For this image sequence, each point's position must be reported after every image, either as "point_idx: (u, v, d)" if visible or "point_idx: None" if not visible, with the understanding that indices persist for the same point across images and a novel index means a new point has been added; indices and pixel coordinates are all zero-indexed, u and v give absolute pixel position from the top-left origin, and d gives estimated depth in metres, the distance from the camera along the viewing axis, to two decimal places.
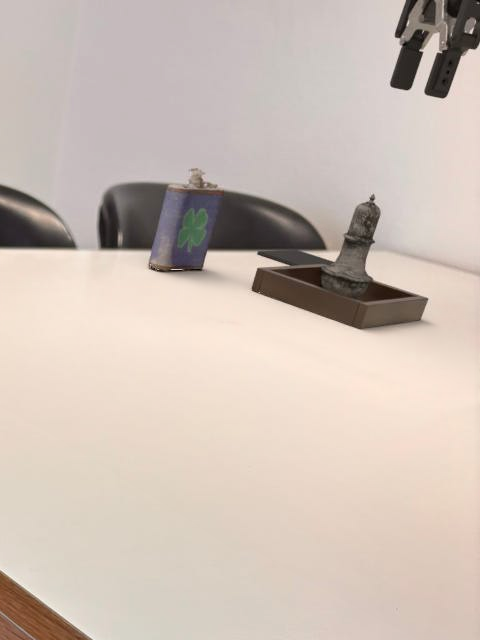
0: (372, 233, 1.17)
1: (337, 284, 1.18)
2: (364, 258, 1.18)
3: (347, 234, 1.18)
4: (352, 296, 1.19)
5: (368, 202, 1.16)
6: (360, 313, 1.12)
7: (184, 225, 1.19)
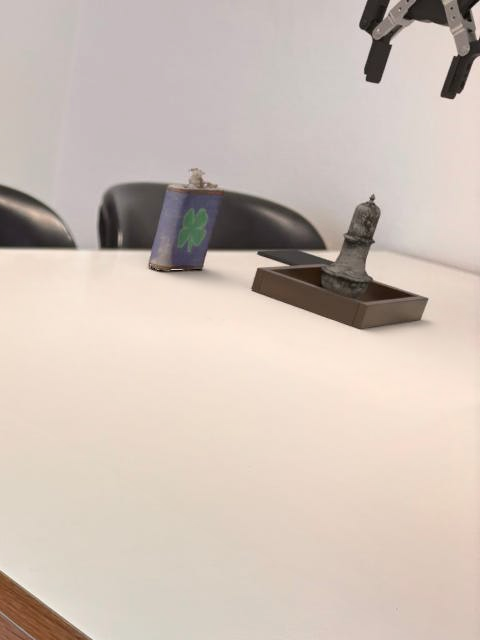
0: (372, 233, 1.17)
1: (337, 284, 1.18)
2: (364, 258, 1.18)
3: (347, 234, 1.18)
4: (352, 296, 1.19)
5: (368, 202, 1.16)
6: (360, 313, 1.12)
7: (184, 225, 1.19)
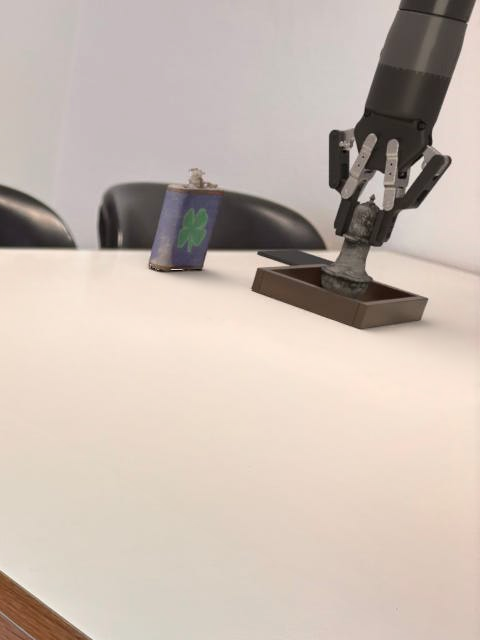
0: None
1: (337, 284, 1.18)
2: (364, 258, 1.18)
3: (347, 234, 1.18)
4: (352, 296, 1.19)
5: (368, 202, 1.16)
6: (360, 313, 1.12)
7: (184, 225, 1.19)
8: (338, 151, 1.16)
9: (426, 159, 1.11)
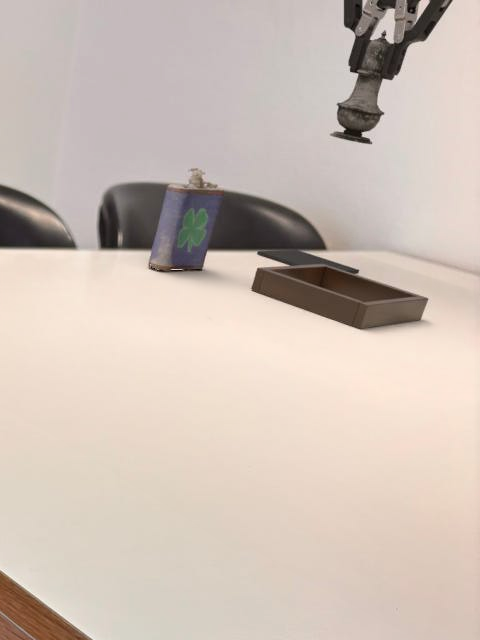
0: None
1: (352, 116, 1.30)
2: (376, 92, 1.29)
3: (361, 69, 1.29)
4: (365, 128, 1.31)
5: (380, 38, 1.27)
6: (360, 313, 1.12)
7: (184, 225, 1.19)
8: None
9: None
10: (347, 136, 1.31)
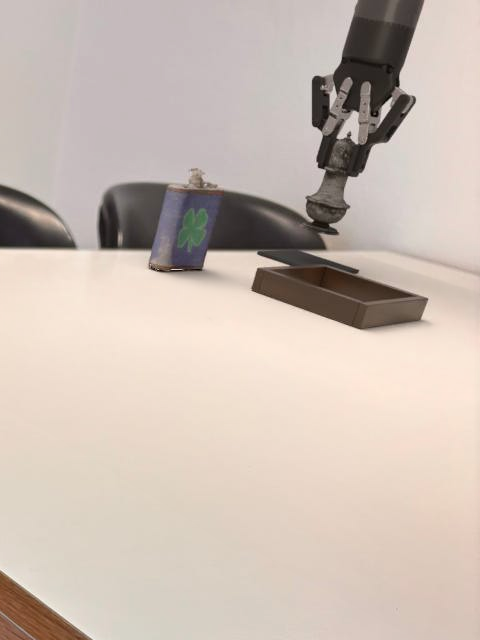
0: None
1: (319, 210, 1.37)
2: (342, 187, 1.37)
3: (327, 166, 1.36)
4: (332, 221, 1.38)
5: (345, 138, 1.34)
6: (360, 313, 1.12)
7: (184, 225, 1.19)
8: (319, 94, 1.34)
9: (394, 99, 1.29)
10: (315, 228, 1.38)
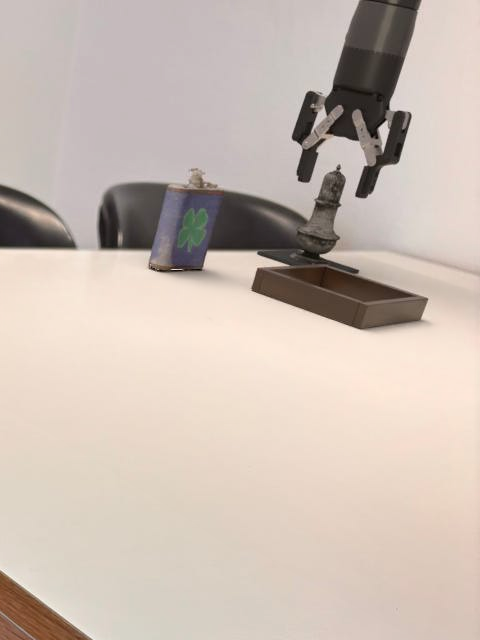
0: (338, 197, 1.37)
1: (309, 242, 1.39)
2: (332, 219, 1.39)
3: (317, 199, 1.38)
4: (322, 252, 1.40)
5: (335, 171, 1.36)
6: (360, 313, 1.12)
7: (184, 225, 1.19)
8: (308, 111, 1.36)
9: (389, 120, 1.30)
10: (305, 259, 1.40)
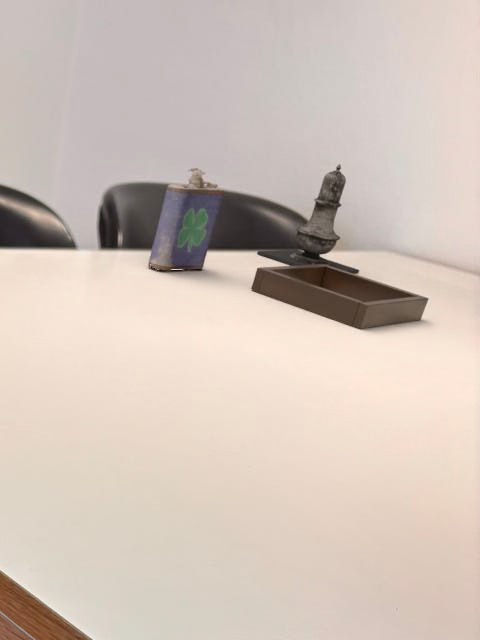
0: (338, 198, 1.37)
1: (309, 242, 1.39)
2: (332, 219, 1.39)
3: (317, 199, 1.38)
4: (322, 252, 1.40)
5: (335, 171, 1.36)
6: (360, 313, 1.12)
7: (184, 225, 1.19)
8: None
9: None
10: (305, 259, 1.40)
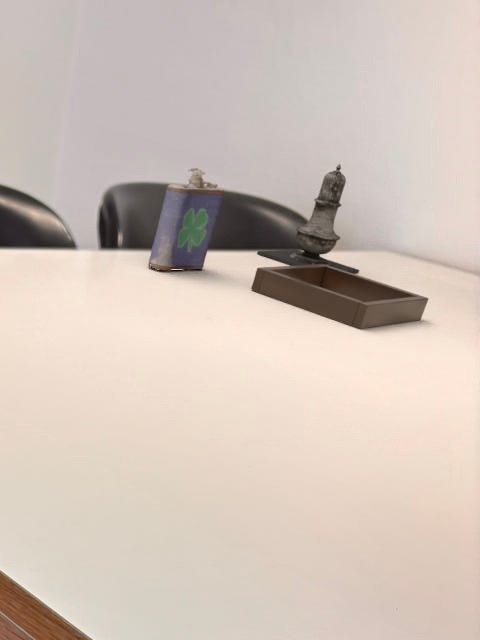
0: (338, 198, 1.37)
1: (309, 242, 1.39)
2: (332, 219, 1.39)
3: (317, 199, 1.38)
4: (322, 252, 1.40)
5: (335, 171, 1.36)
6: (360, 313, 1.12)
7: (184, 225, 1.19)
8: None
9: None
10: (305, 259, 1.40)
